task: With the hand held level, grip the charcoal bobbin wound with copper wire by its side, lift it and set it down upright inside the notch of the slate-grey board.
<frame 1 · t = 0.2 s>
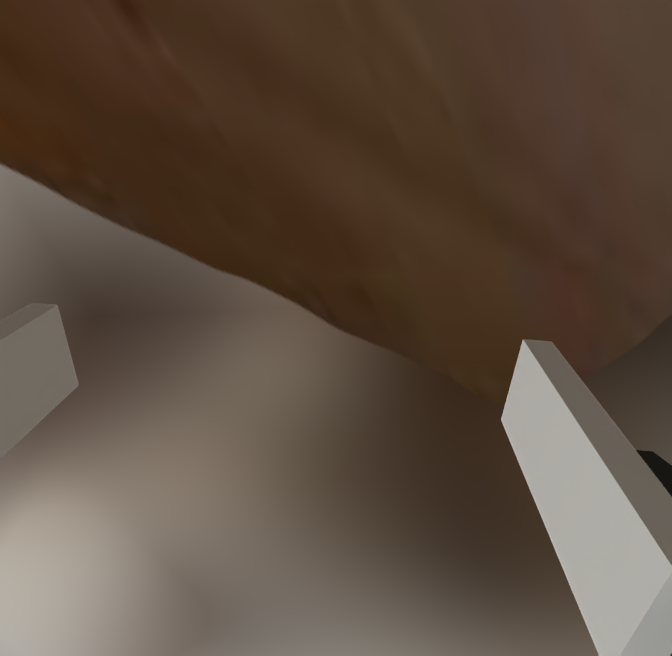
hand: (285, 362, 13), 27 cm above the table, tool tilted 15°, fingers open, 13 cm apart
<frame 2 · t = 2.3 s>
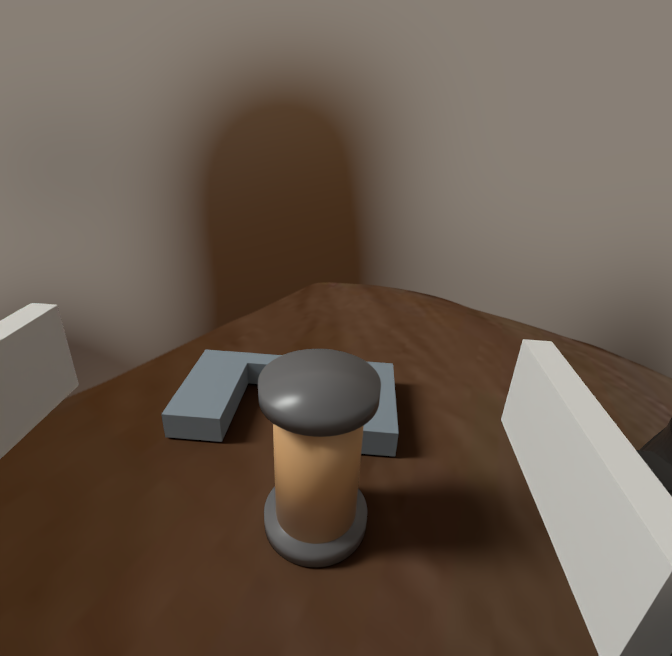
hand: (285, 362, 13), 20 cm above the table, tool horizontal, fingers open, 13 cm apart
notched board: (289, 407, 42), on the table
bobbin: (315, 519, 31), on the table
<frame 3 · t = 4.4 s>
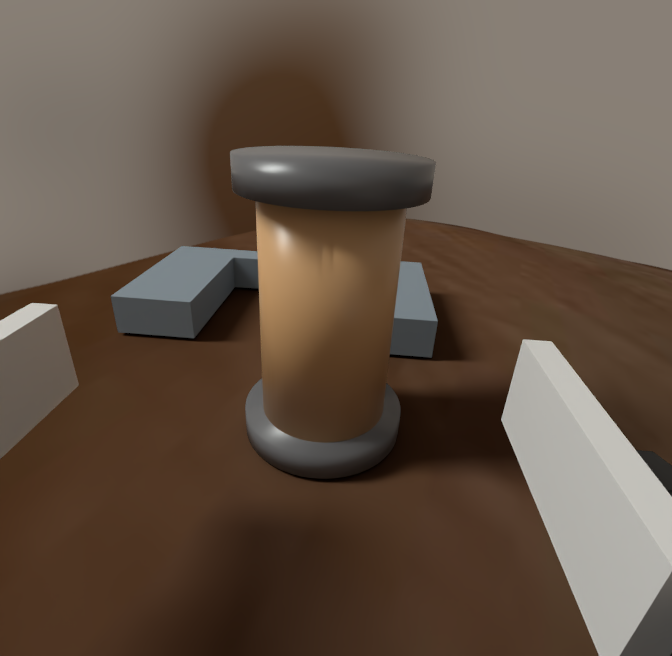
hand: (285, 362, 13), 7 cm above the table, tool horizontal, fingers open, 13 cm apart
notched board: (287, 308, 32), on the table
bobbin: (322, 421, 21), on the table
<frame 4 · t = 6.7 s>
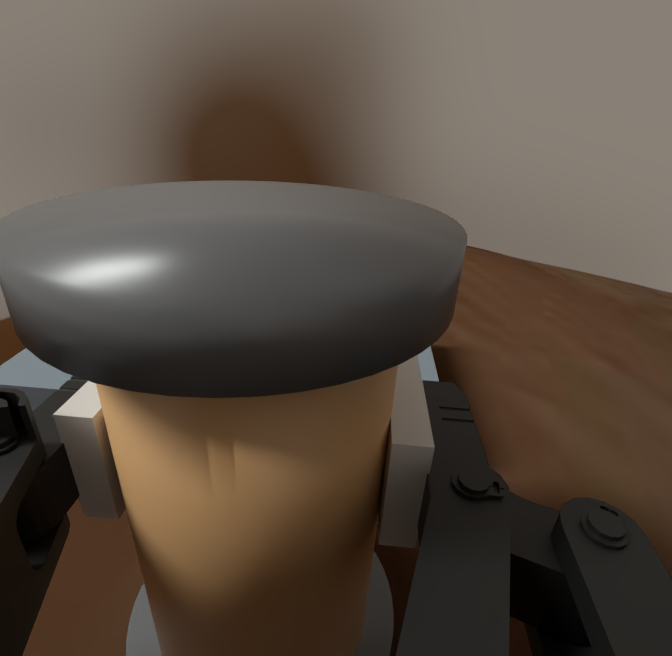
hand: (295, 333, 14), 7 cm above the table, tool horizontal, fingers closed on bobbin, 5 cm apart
notched board: (244, 379, 24), on the table
bobbin: (266, 625, 13), on the table, touching gripper
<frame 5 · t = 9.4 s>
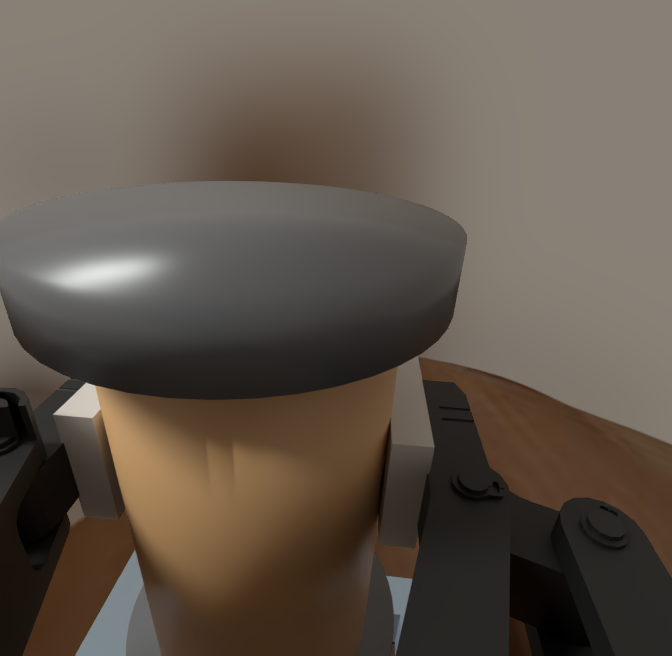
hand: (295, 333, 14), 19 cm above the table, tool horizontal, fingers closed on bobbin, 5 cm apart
bobbin: (266, 626, 13), point 12 cm above the table, touching gripper
when the fingers open (8 cm above the table, at t = 12.4 s): bobbin drops 1 cm, on the table.
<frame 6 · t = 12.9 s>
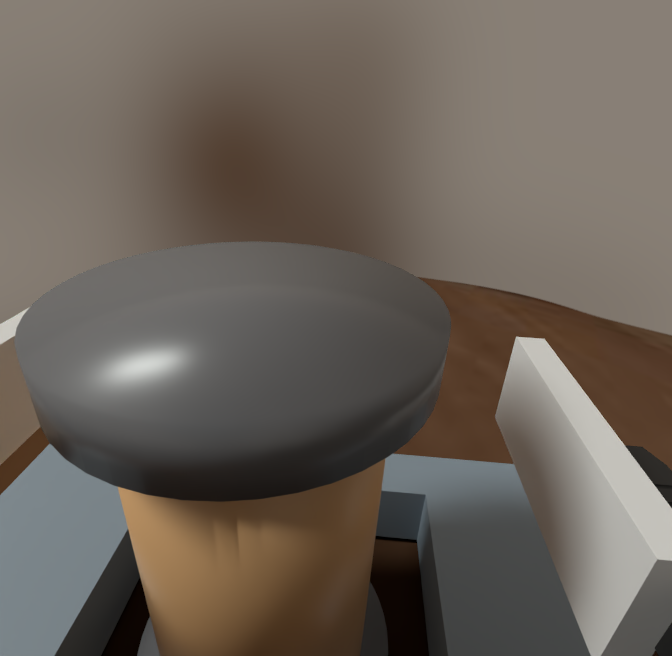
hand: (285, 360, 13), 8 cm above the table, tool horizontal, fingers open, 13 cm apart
notched board: (274, 618, 14), on the table
bobbin: (267, 655, 13), on the table
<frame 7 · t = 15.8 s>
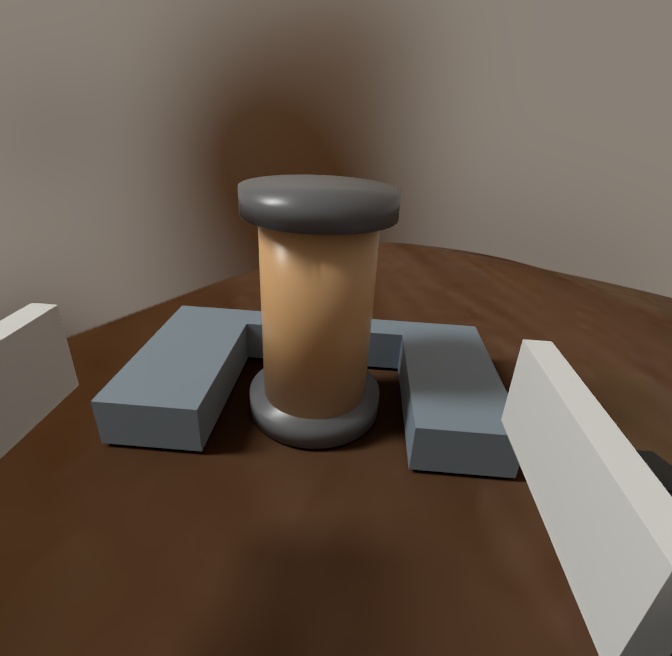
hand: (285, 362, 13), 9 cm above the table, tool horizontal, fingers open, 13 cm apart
notched board: (316, 393, 26), on the table
bobbin: (314, 404, 25), on the table
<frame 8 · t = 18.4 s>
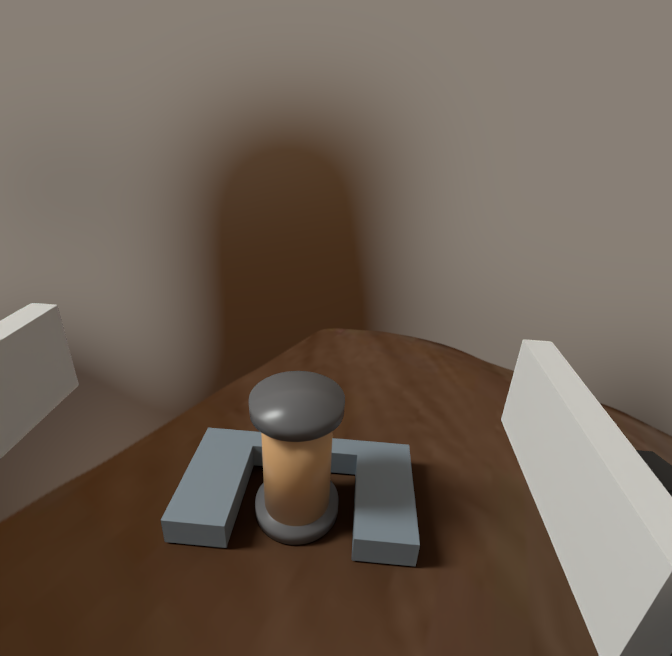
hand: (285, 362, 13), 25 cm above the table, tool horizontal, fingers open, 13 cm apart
notched board: (299, 498, 39), on the table
bobbin: (297, 508, 38), on the table
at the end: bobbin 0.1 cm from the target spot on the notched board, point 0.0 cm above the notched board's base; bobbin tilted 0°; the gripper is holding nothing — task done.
